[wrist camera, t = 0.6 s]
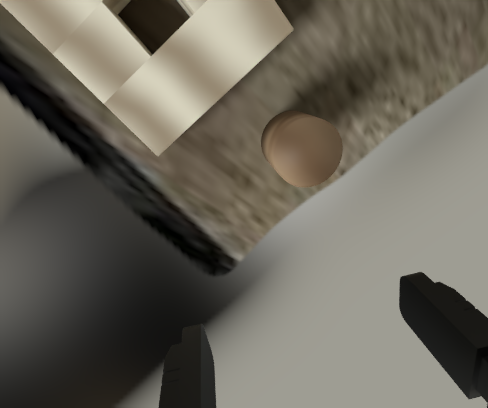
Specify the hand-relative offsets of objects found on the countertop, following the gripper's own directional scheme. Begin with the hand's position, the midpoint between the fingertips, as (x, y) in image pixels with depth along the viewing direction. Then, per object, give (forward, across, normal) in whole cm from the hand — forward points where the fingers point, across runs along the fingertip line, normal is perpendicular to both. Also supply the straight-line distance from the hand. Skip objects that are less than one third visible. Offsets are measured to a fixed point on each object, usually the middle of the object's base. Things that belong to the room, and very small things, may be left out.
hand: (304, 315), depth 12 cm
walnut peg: (+23, -4, -2) cm, 23 cm away
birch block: (+23, +5, -14) cm, 27 cm away
